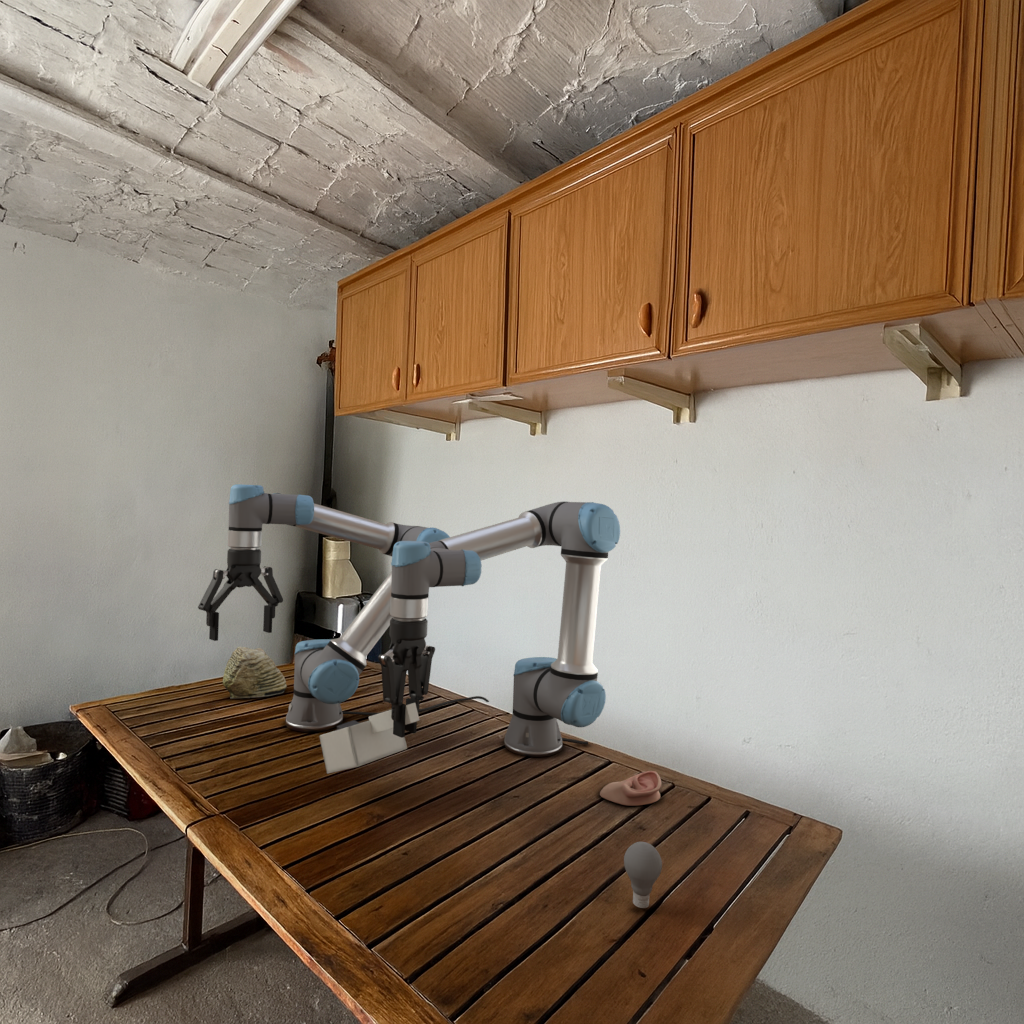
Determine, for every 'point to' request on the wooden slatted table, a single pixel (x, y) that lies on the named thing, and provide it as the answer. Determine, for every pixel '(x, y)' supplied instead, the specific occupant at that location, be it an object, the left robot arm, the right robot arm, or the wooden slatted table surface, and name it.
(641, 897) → the light bulb
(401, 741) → the handled box
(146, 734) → the wooden slatted table surface
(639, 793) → the anatomical model
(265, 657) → the fossil
